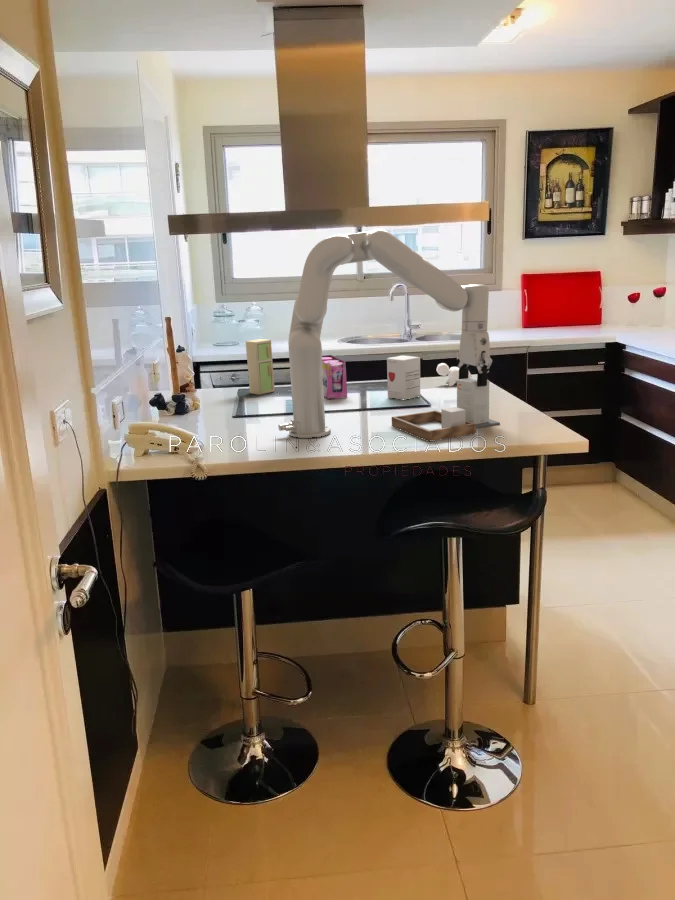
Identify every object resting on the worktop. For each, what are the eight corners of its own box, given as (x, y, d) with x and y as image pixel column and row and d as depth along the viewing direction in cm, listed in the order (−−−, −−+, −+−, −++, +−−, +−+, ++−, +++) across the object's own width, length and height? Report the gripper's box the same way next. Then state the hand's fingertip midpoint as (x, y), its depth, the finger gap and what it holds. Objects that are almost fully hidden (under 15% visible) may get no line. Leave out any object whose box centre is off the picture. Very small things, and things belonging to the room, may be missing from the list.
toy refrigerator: (260, 395, 277) (256, 342, 271) (249, 393, 282) (245, 340, 276) (276, 392, 282) (272, 339, 276) (265, 390, 287) (261, 338, 282)
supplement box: (386, 398, 260) (385, 358, 256) (403, 394, 266) (402, 354, 262) (404, 401, 253) (404, 359, 249) (421, 397, 259) (420, 356, 255)
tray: (428, 441, 198) (428, 431, 197) (391, 426, 217) (391, 416, 216) (476, 433, 204) (476, 423, 203) (436, 419, 223) (435, 410, 223)
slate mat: (469, 429, 209) (469, 427, 209) (449, 422, 219) (449, 420, 219) (499, 424, 214) (499, 422, 213) (478, 417, 223) (478, 415, 223)
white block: (450, 435, 203) (450, 412, 202) (441, 432, 208) (441, 409, 206) (465, 433, 205) (465, 409, 203) (455, 429, 210) (455, 406, 208)
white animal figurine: (465, 389, 286) (430, 377, 284) (472, 369, 284) (438, 357, 282) (469, 393, 278) (434, 380, 276) (477, 372, 276) (442, 360, 274)
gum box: (349, 398, 263) (347, 362, 260) (328, 400, 261) (326, 364, 258) (333, 387, 286) (331, 354, 282) (314, 389, 284) (312, 356, 280)
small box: (489, 422, 214) (490, 380, 211) (473, 425, 211) (473, 382, 208) (471, 417, 221) (472, 376, 217) (456, 420, 218) (456, 379, 214)
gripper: (502, 328, 202) (499, 387, 207) (468, 323, 217) (466, 378, 222) (481, 330, 199) (478, 389, 204) (447, 325, 215) (446, 380, 219)
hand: (472, 383), depth 213 cm, fingers open, 9 cm apart
